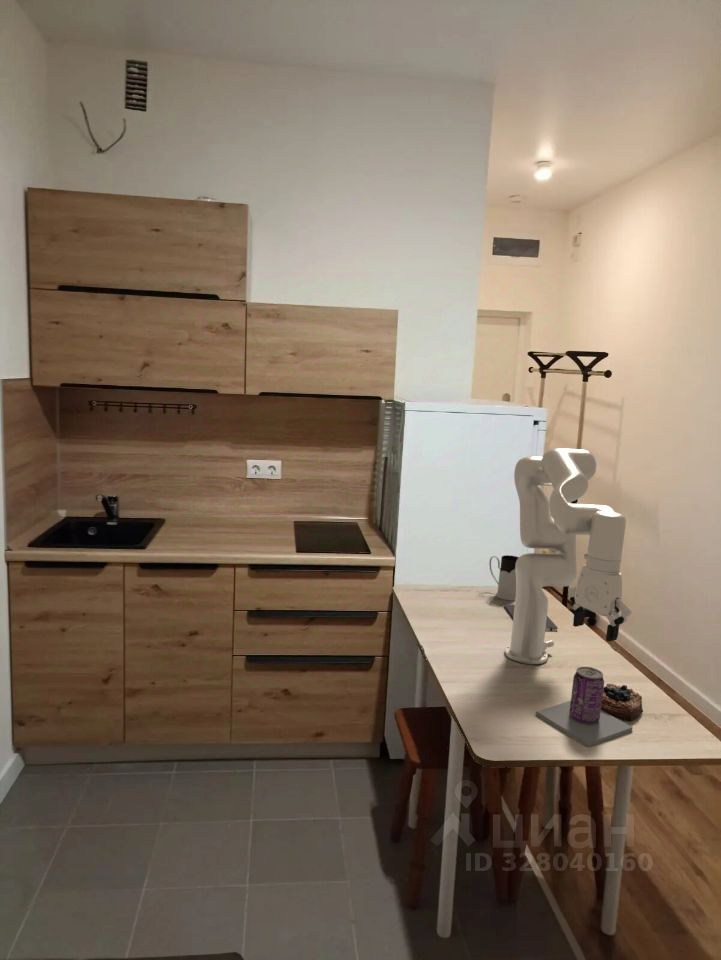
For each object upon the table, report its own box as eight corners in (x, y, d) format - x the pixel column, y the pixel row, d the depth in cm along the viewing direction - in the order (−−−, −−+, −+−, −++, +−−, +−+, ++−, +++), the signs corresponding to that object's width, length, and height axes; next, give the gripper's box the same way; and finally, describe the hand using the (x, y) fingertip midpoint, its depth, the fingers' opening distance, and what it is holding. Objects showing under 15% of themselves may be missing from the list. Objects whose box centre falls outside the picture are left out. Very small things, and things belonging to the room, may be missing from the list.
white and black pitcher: (510, 601, 251) (514, 562, 249) (480, 590, 262) (483, 553, 259) (524, 597, 257) (528, 559, 255) (494, 587, 268) (497, 550, 265)
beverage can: (576, 707, 171) (581, 663, 169) (603, 718, 166) (609, 672, 164) (564, 717, 166) (569, 671, 164) (592, 728, 161) (598, 681, 159)
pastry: (646, 709, 175) (649, 688, 174) (631, 726, 166) (634, 704, 165) (603, 694, 182) (606, 674, 181) (587, 710, 173) (590, 688, 172)
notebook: (503, 608, 245) (520, 631, 224) (504, 604, 245) (521, 626, 224) (538, 610, 246) (558, 632, 225) (538, 605, 246) (558, 628, 225)
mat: (579, 701, 177) (579, 697, 176) (632, 731, 163) (632, 727, 163) (535, 714, 168) (536, 711, 168) (587, 747, 155) (588, 743, 155)
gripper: (563, 555, 164) (555, 622, 167) (624, 576, 150) (614, 649, 153) (584, 552, 168) (576, 618, 171) (645, 572, 154) (635, 644, 157)
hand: (594, 632), depth 162 cm, fingers open, 9 cm apart
